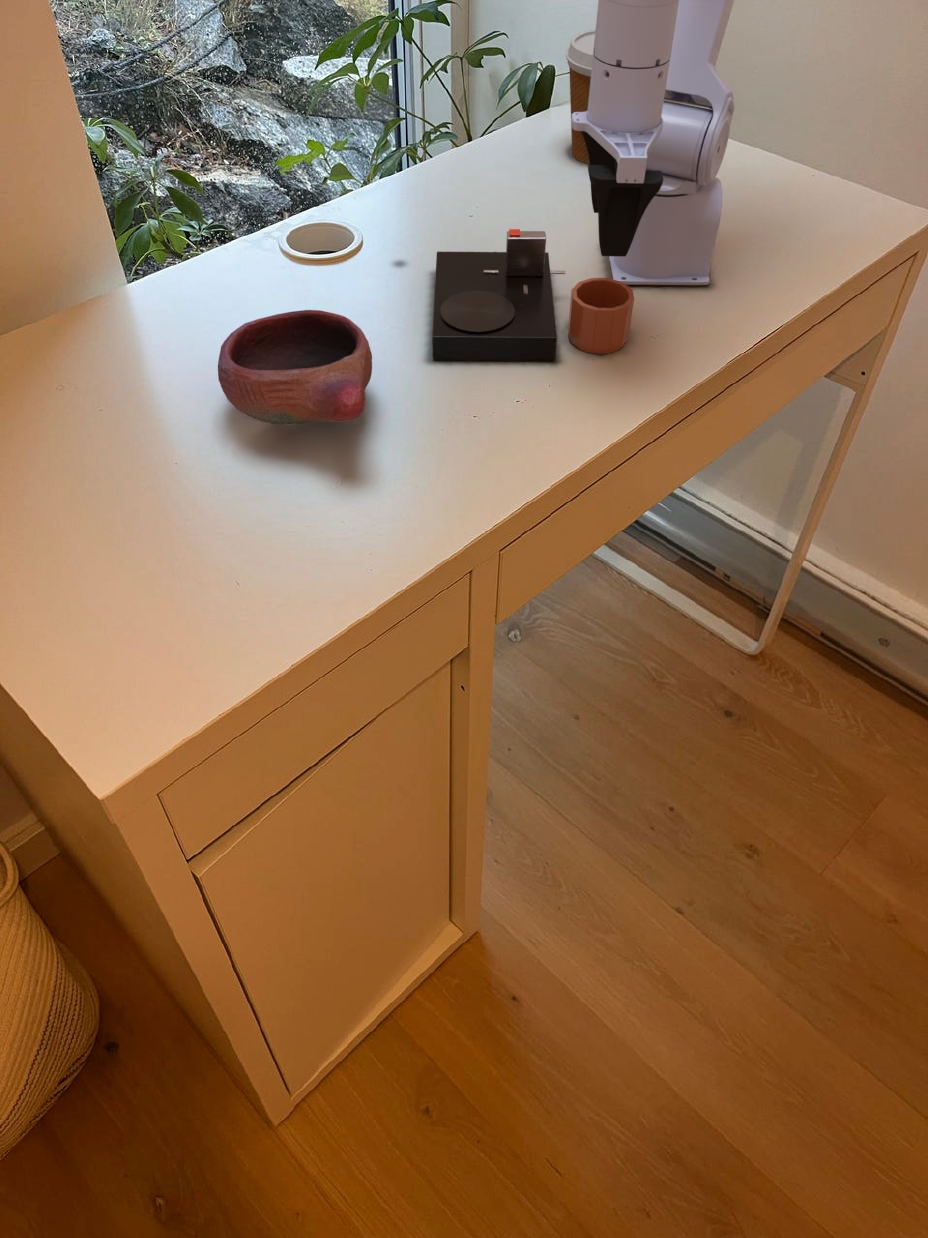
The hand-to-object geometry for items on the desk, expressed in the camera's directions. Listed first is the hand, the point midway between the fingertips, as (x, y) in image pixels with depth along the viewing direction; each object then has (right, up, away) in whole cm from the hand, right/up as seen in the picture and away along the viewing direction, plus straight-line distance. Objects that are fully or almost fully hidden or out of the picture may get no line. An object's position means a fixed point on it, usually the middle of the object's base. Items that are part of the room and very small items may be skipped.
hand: (609, 232), depth 82 cm
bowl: (-25, -16, 0) cm, 29 cm away
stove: (-10, -4, +10) cm, 15 cm away
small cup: (0, -7, +8) cm, 10 cm away
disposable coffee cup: (+4, +23, +34) cm, 41 cm away
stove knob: (-6, 0, +11) cm, 13 cm away
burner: (-11, -5, +6) cm, 14 cm away
